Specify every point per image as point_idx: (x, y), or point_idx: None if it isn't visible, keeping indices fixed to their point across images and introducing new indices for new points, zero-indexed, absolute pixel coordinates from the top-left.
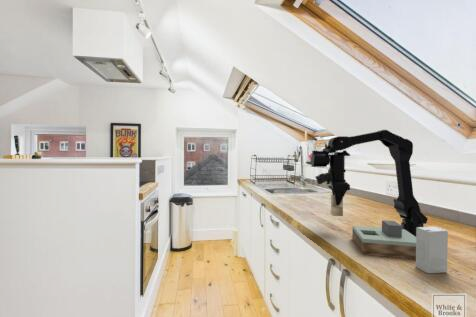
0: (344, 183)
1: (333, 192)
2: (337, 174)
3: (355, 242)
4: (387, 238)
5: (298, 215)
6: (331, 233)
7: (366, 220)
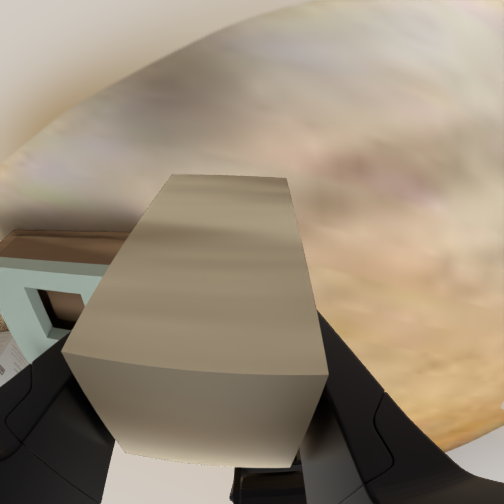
0: None
1: (342, 460)
2: None
3: (102, 234)
4: (32, 345)
5: None
6: (240, 131)
7: (458, 353)
